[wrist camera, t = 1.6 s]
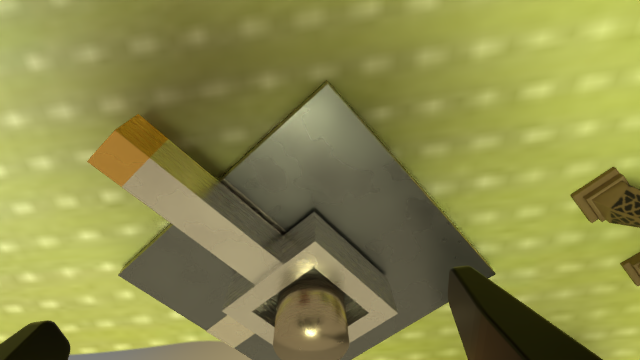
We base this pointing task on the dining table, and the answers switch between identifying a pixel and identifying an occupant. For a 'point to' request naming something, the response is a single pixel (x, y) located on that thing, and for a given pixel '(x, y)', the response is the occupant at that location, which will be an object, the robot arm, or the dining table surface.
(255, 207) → the post base
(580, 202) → the eiffel tower
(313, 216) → the square nut with handle
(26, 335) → the robot arm
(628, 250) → the dining table surface
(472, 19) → the dining table surface
